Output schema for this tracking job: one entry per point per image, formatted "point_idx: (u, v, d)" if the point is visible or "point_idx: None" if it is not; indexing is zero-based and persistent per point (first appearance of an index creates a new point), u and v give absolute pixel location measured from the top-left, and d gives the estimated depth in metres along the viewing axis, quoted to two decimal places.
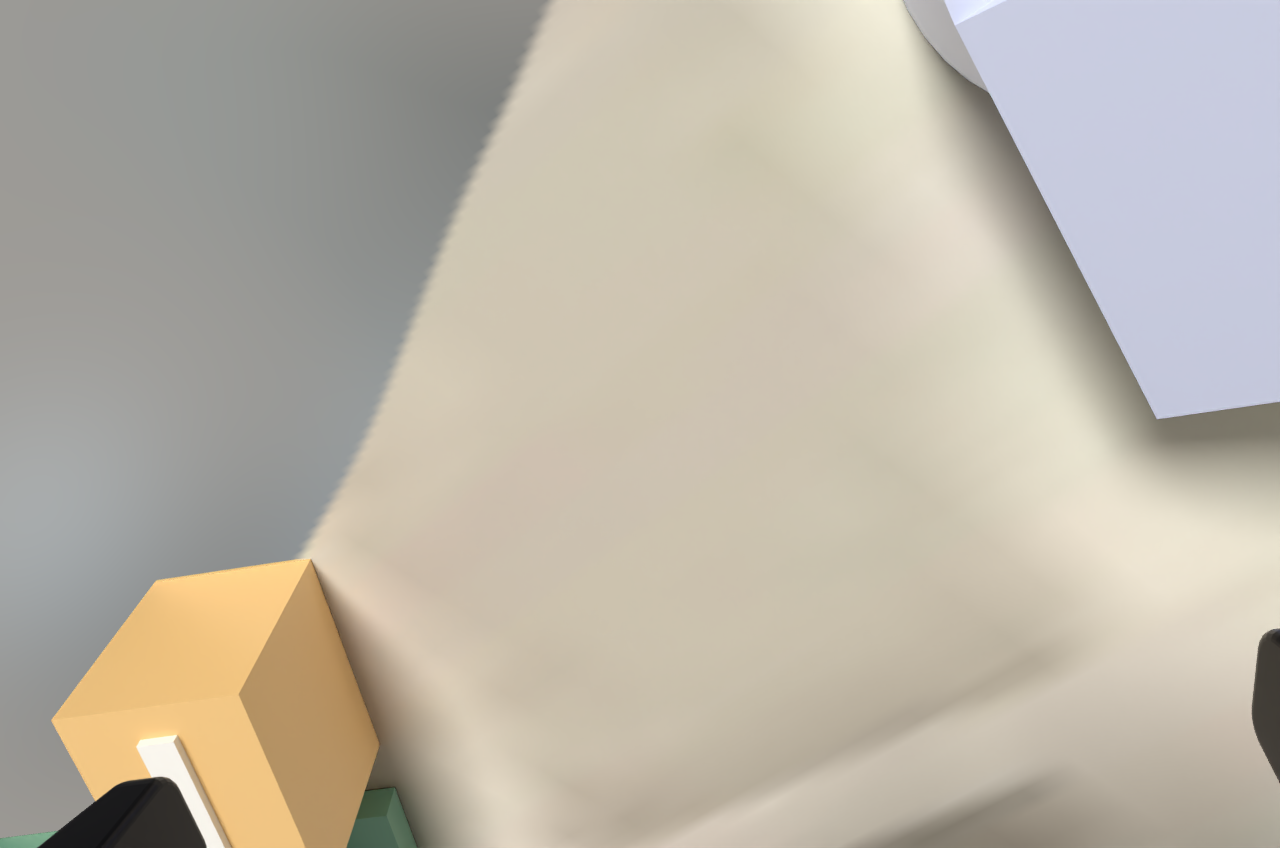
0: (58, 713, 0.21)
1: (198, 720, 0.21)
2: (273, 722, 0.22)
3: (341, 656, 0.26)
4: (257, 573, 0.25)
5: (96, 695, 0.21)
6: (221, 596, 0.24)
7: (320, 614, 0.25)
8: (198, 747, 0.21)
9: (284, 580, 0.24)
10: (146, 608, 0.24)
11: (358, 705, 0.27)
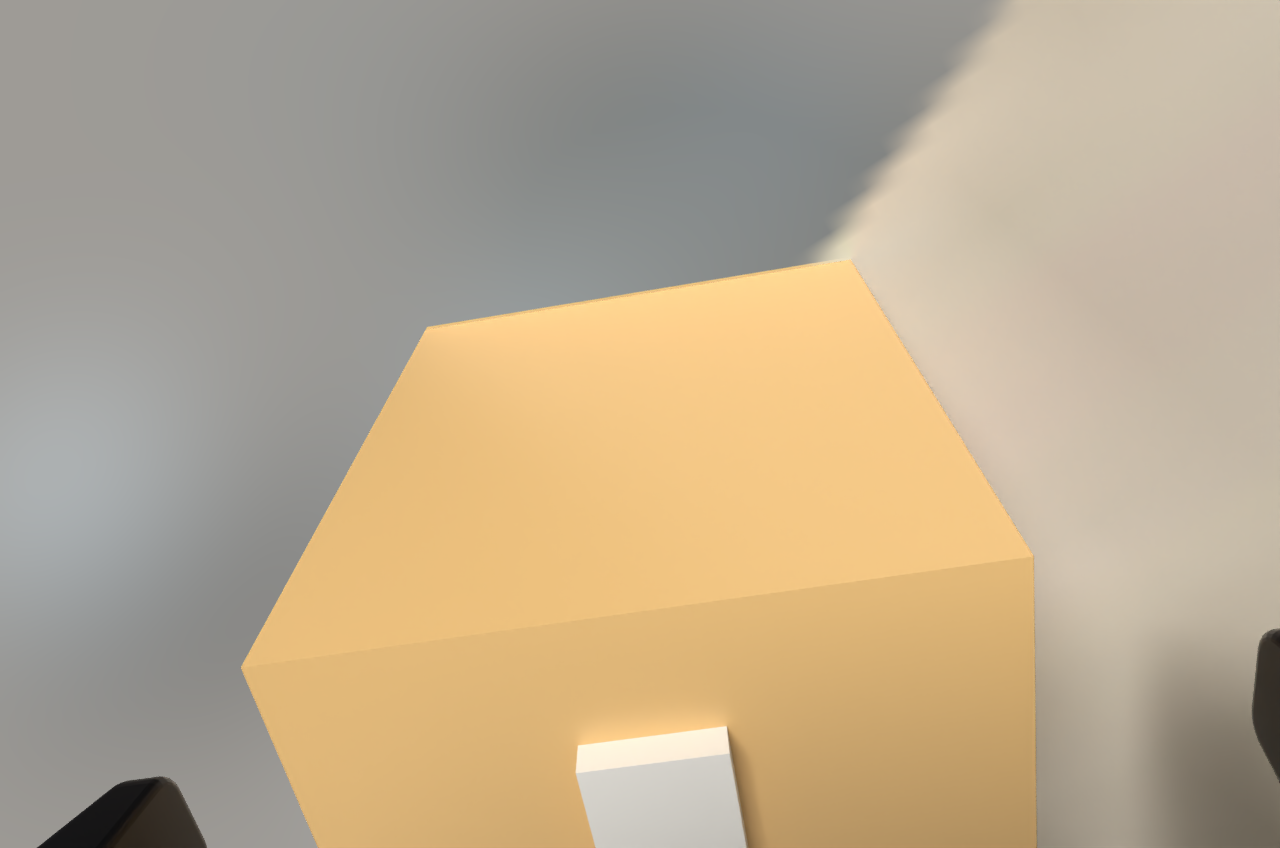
0: (262, 642, 0.05)
1: (829, 670, 0.05)
2: None
3: None
4: (718, 293, 0.09)
5: (390, 580, 0.06)
6: (653, 336, 0.09)
7: None
8: (791, 773, 0.06)
9: (820, 295, 0.09)
10: (435, 372, 0.09)
11: None
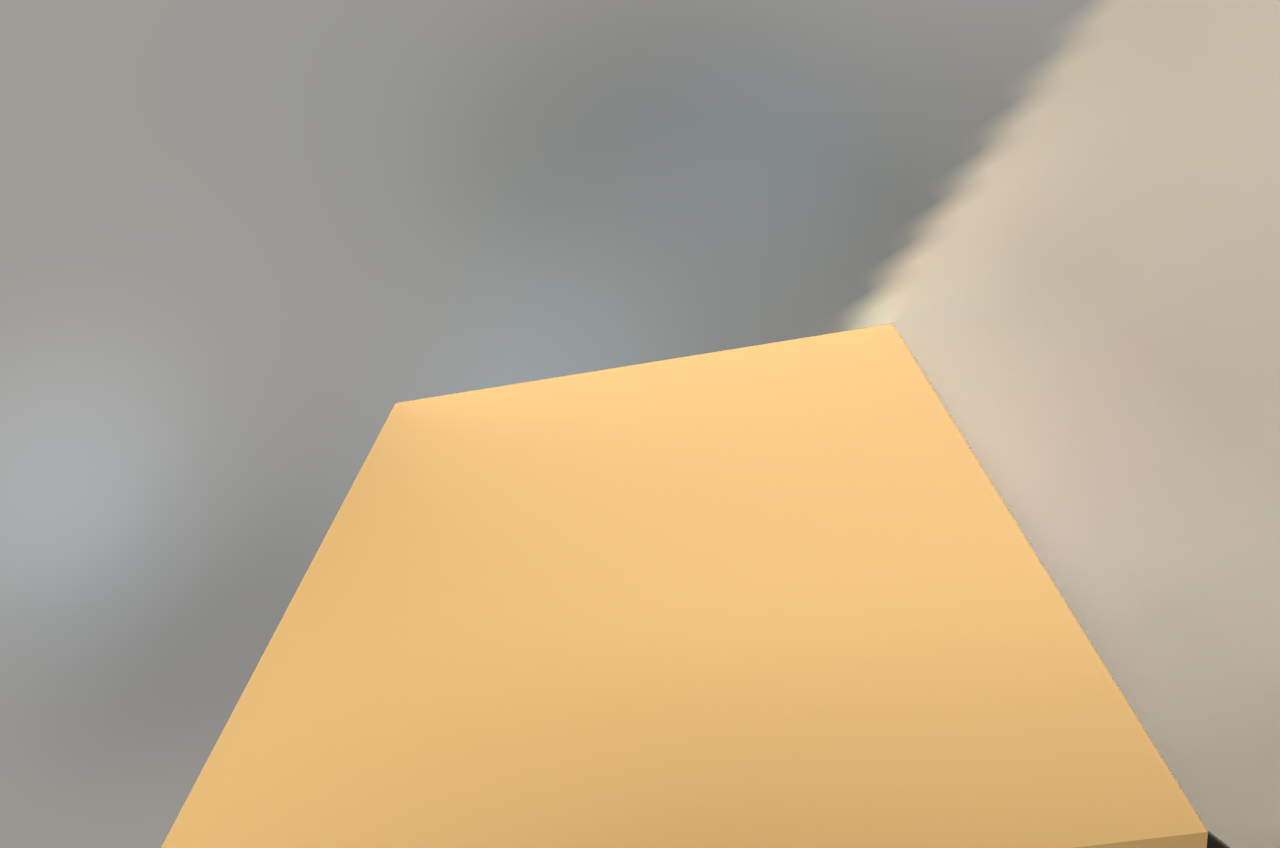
0: None
1: None
2: None
3: None
4: (739, 366, 0.08)
5: (316, 811, 0.04)
6: (663, 428, 0.07)
7: None
8: None
9: (862, 377, 0.07)
10: (400, 470, 0.07)
11: None
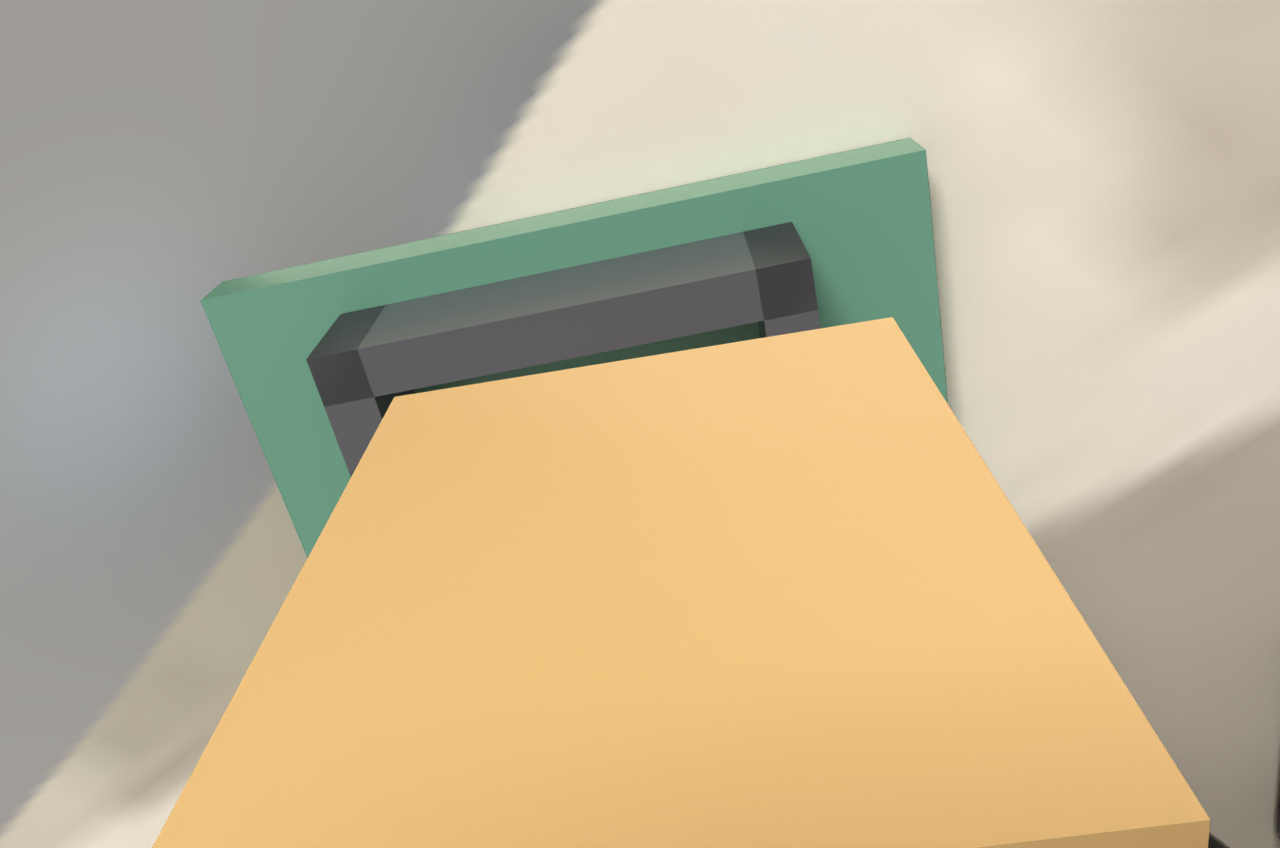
0: None
1: None
2: None
3: None
4: (739, 361, 0.08)
5: (315, 801, 0.04)
6: (661, 421, 0.07)
7: None
8: None
9: (862, 368, 0.07)
10: (399, 463, 0.07)
11: None
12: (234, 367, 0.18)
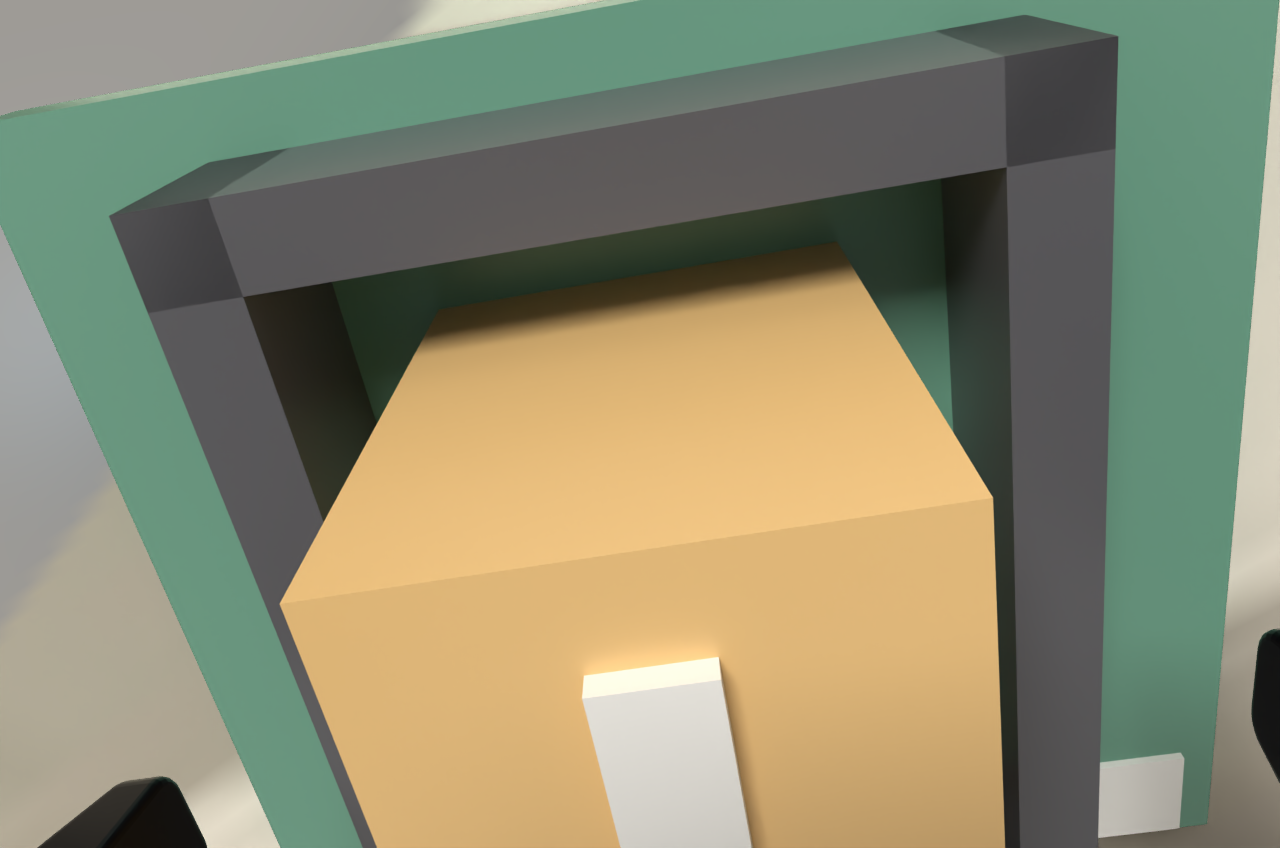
0: (298, 582, 0.06)
1: (809, 604, 0.06)
2: None
3: None
4: (713, 275, 0.10)
5: (412, 527, 0.06)
6: (652, 315, 0.09)
7: None
8: (777, 702, 0.06)
9: (809, 275, 0.09)
10: (448, 350, 0.09)
11: None
12: (24, 254, 0.10)
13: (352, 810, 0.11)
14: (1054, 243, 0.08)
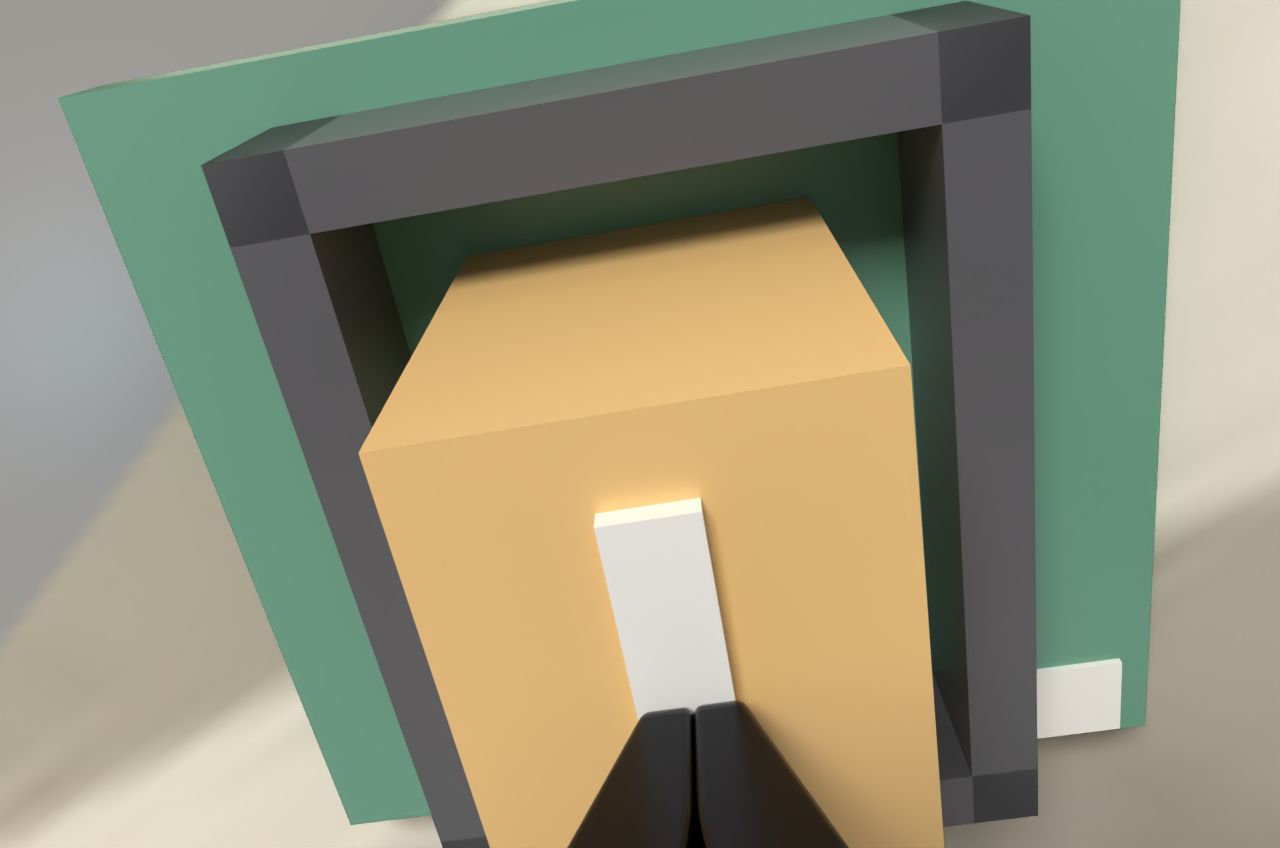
0: (371, 440, 0.08)
1: (772, 452, 0.07)
2: None
3: None
4: (704, 223, 0.11)
5: (460, 403, 0.08)
6: (650, 254, 0.11)
7: None
8: (747, 536, 0.08)
9: (783, 222, 0.11)
10: (477, 284, 0.11)
11: None
12: (111, 207, 0.12)
13: (390, 691, 0.12)
14: (983, 187, 0.10)
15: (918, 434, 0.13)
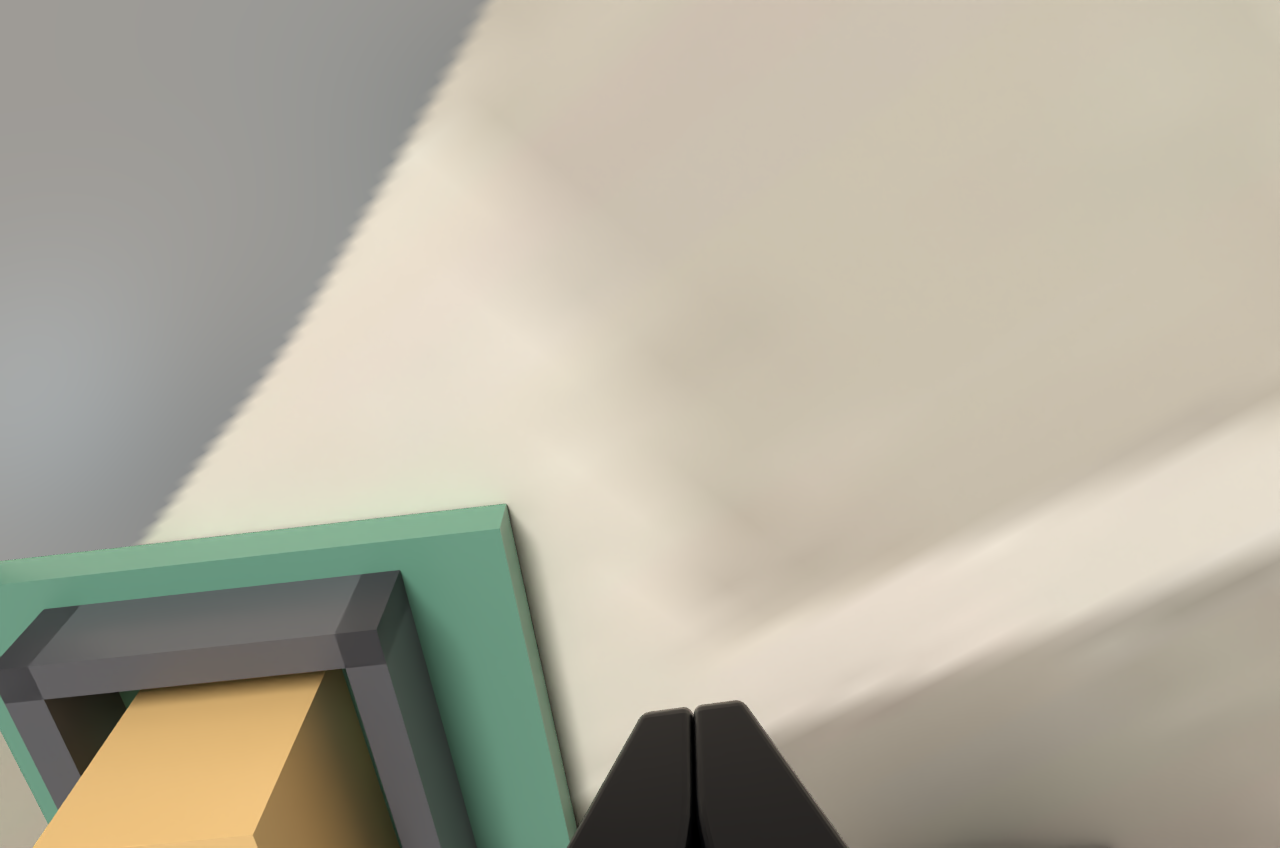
0: (35, 847, 0.18)
1: None
2: None
3: (363, 760, 0.23)
4: None
5: (81, 825, 0.18)
6: (230, 696, 0.21)
7: (343, 715, 0.22)
8: None
9: (304, 678, 0.21)
10: (142, 706, 0.21)
11: (380, 815, 0.23)
12: None
13: None
14: (371, 693, 0.20)
15: None
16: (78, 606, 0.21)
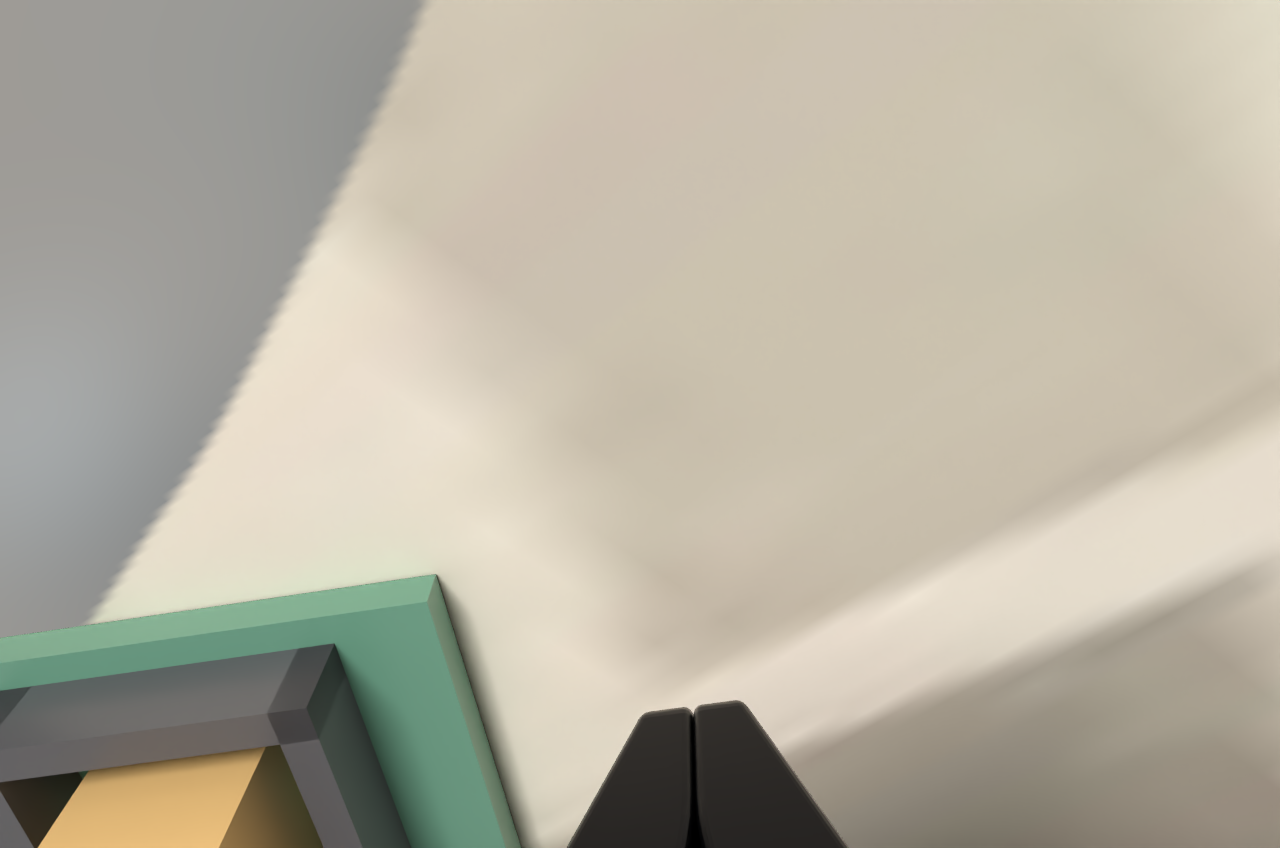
0: None
1: None
2: None
3: None
4: None
5: None
6: (176, 770, 0.22)
7: (289, 782, 0.23)
8: None
9: (247, 750, 0.22)
10: (93, 783, 0.22)
11: None
12: None
13: None
14: (307, 766, 0.21)
15: None
16: (29, 687, 0.22)
